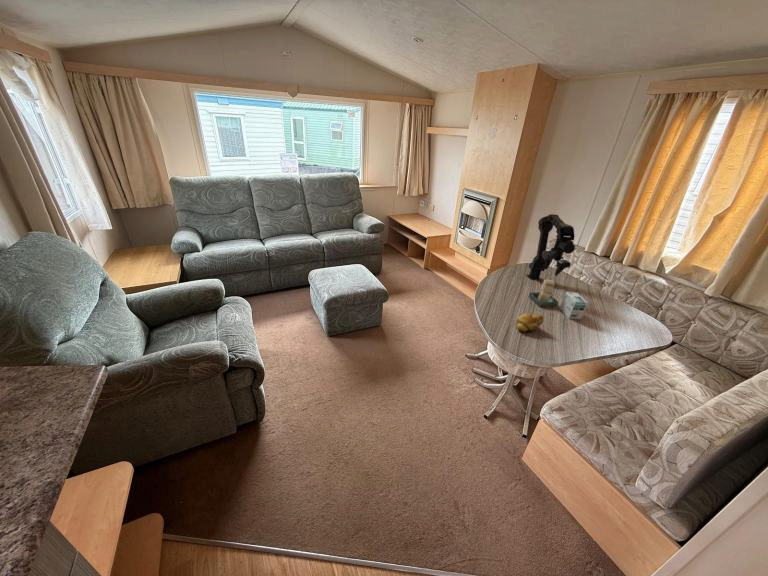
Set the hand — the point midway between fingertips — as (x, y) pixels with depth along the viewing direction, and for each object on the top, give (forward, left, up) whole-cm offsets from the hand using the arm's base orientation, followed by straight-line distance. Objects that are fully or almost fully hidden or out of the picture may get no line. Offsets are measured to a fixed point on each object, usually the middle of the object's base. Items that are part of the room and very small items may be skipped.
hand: (550, 272), depth 184 cm
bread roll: (+35, -34, -13) cm, 51 cm away
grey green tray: (+12, -9, -13) cm, 20 cm away
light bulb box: (+25, -1, -13) cm, 28 cm away
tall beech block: (+12, -9, -13) cm, 19 cm away
